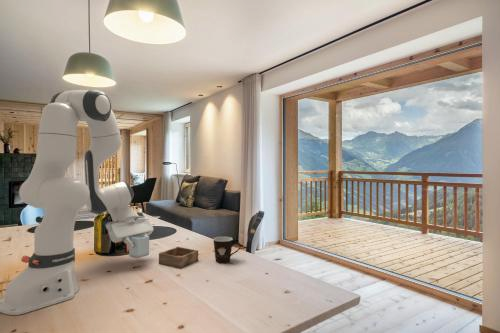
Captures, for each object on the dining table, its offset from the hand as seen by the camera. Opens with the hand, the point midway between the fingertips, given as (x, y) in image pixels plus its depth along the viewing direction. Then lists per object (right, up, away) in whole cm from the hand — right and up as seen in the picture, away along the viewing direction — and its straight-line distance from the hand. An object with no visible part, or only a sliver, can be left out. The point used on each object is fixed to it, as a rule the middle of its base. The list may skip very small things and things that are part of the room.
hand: (140, 245), depth 129 cm
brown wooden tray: (+15, -9, +7) cm, 18 cm away
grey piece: (-1, -4, 0) cm, 4 cm away
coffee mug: (+35, -10, +8) cm, 37 cm away
